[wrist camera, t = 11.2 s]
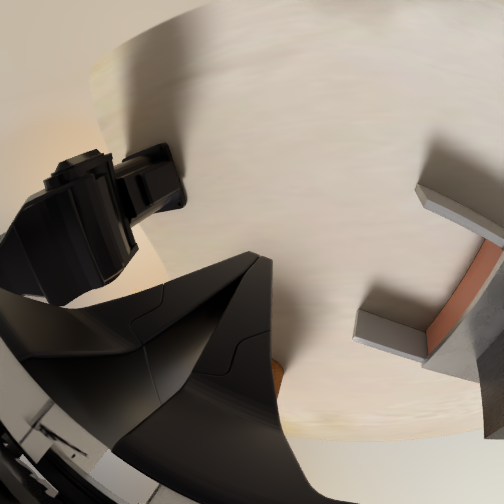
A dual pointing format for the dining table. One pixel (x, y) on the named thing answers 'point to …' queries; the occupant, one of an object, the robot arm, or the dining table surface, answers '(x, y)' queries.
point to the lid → (479, 350)
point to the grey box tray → (422, 344)
